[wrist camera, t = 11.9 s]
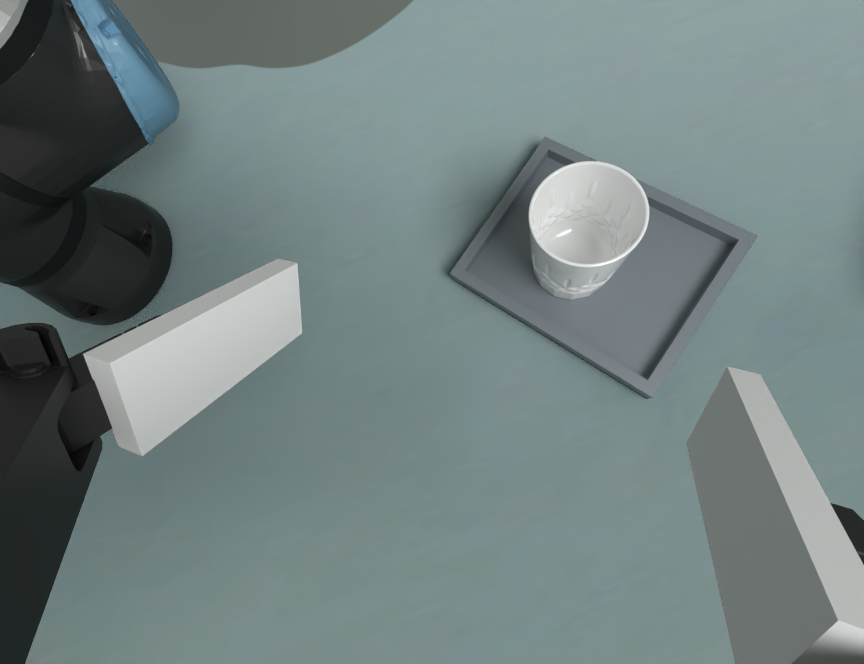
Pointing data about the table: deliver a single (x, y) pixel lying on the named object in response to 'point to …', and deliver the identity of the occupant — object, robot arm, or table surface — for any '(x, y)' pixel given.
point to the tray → (610, 279)
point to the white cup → (584, 226)
